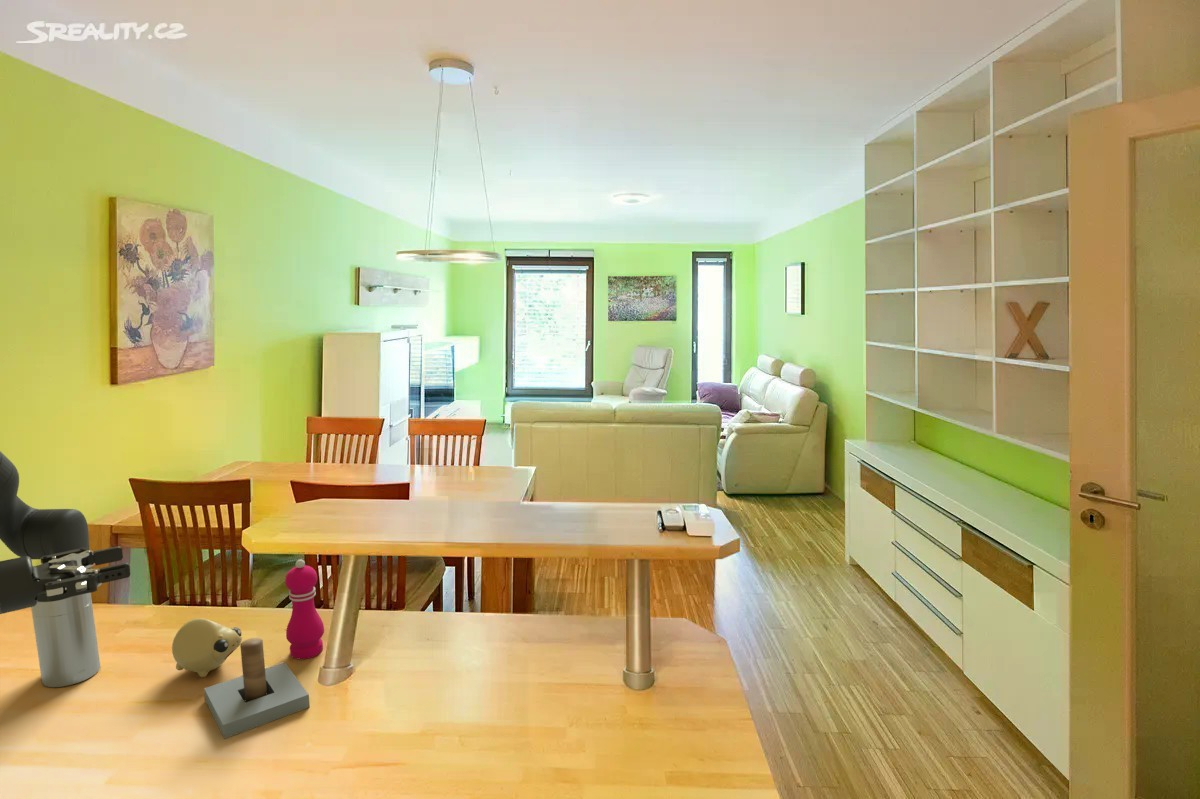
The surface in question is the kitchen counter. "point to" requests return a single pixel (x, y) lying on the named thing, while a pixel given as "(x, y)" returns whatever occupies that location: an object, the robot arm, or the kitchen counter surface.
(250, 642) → the pin
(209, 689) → the socket
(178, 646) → the beige animal figure
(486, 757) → the kitchen counter surface
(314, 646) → the pepper mill
